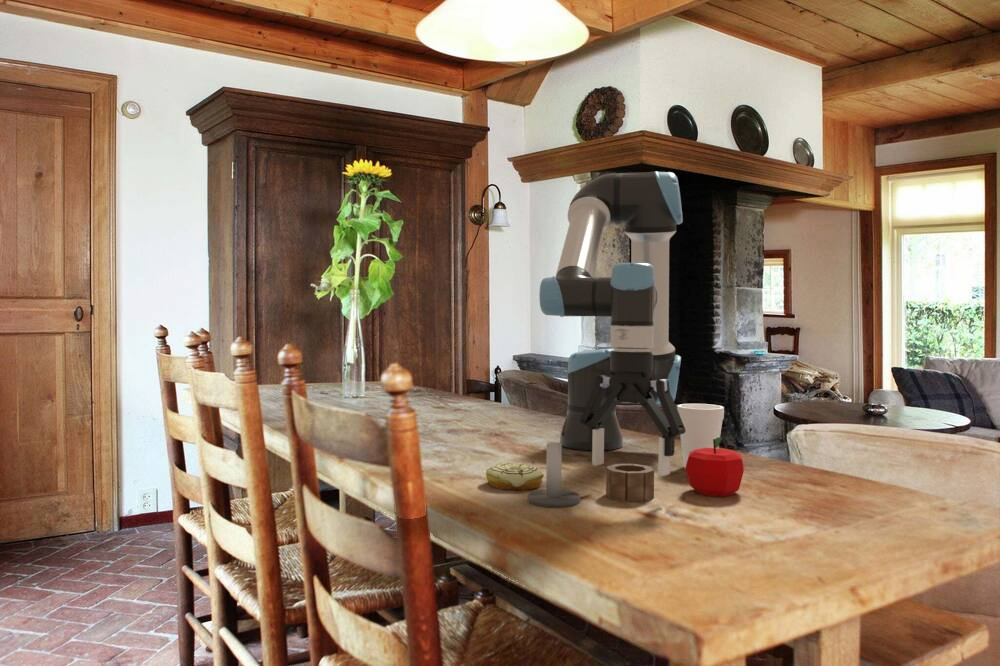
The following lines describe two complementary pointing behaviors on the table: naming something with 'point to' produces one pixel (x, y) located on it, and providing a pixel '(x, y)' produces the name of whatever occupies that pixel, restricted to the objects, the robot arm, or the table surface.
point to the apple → (715, 470)
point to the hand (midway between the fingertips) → (629, 469)
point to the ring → (630, 482)
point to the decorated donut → (514, 476)
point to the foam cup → (699, 426)
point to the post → (553, 483)
